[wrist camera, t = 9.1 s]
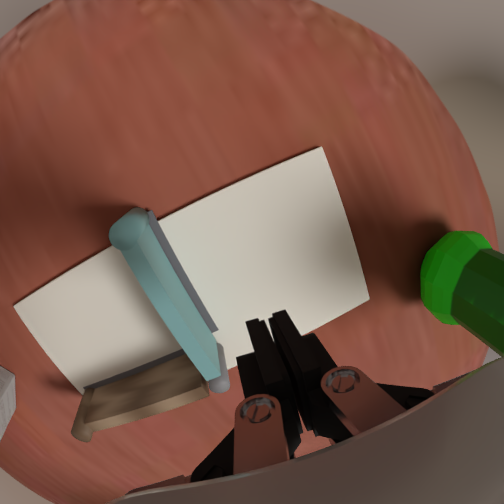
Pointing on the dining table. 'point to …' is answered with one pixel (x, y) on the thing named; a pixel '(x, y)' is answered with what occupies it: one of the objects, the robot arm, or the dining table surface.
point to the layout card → (209, 276)
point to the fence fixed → (139, 396)
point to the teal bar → (169, 296)
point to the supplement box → (6, 398)
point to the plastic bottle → (466, 286)
